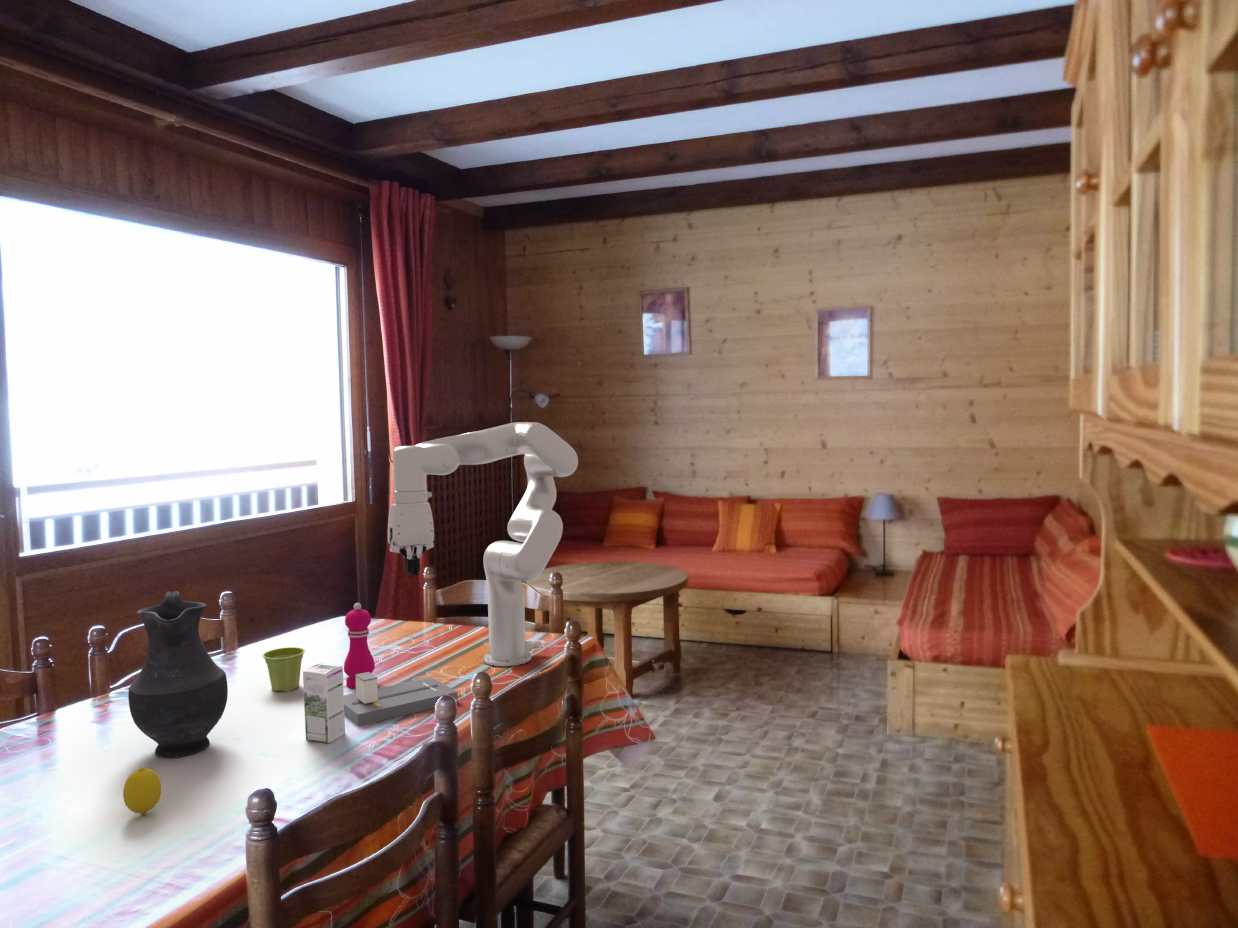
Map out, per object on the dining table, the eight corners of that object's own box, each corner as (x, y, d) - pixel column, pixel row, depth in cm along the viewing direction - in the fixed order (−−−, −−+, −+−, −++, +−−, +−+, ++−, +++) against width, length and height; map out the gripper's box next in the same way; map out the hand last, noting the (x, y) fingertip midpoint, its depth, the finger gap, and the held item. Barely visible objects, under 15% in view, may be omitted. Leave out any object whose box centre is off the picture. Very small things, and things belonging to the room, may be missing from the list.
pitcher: (129, 773, 160) (121, 612, 158) (133, 736, 178) (126, 591, 176) (232, 754, 168) (226, 601, 166) (226, 721, 186) (220, 583, 184)
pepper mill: (379, 680, 213) (377, 599, 212) (368, 689, 206) (366, 606, 205) (351, 679, 214) (349, 599, 213) (339, 688, 207) (336, 606, 206)
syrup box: (346, 733, 178) (344, 664, 177) (328, 744, 172) (325, 672, 171) (323, 730, 180) (320, 661, 179) (304, 741, 174) (301, 670, 173)
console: (430, 687, 207) (430, 676, 207) (457, 702, 196) (457, 691, 196) (335, 708, 193) (334, 696, 193) (358, 725, 182) (357, 713, 182)
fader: (369, 694, 193) (368, 671, 193) (378, 700, 189) (377, 677, 189) (355, 697, 192) (355, 674, 191) (364, 703, 187) (363, 680, 187)
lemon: (134, 807, 146) (131, 761, 145) (168, 806, 146) (166, 759, 146) (118, 823, 140) (115, 775, 140) (153, 821, 141) (151, 773, 140)
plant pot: (272, 697, 202) (271, 660, 201) (258, 687, 209) (257, 652, 208) (312, 688, 208) (310, 652, 207) (297, 679, 215) (295, 644, 214)
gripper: (433, 494, 213) (435, 568, 214) (374, 499, 204) (376, 576, 205) (446, 496, 207) (448, 573, 208) (386, 501, 198) (388, 581, 199)
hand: (412, 574), depth 206 cm, fingers closed
